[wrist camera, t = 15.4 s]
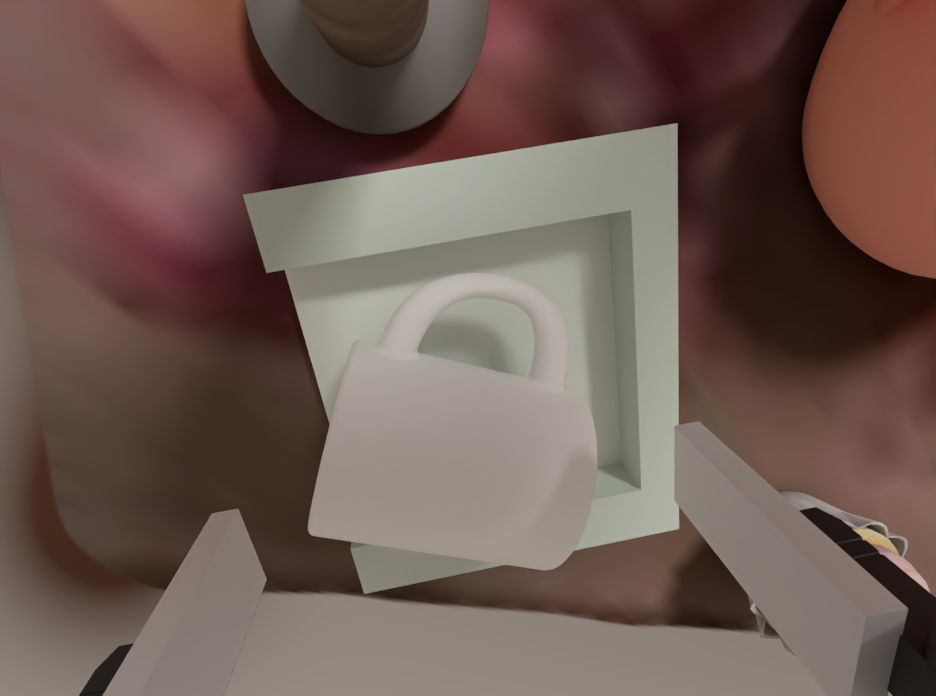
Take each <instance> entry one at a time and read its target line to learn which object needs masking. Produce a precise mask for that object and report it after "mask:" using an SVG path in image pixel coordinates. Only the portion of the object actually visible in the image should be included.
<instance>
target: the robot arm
mask: <svg viewBox="0 0 936 696" xmlns="http://www.w3.org/2000/svg"><path fill="white" fill-rule="evenodd" d="M674 500H675V502H676V503H677V504H678V505H679V507H680V508H681V509H682V511H683V512H684V513H685V514H686V516H687V517H688V518H689V520H690V521H691V522H692V523H693V525H694V526H695V527H696V529H697V530H698V531H699V532H700V534H701V535H702V536H703V538H704V539H705V540H706V541H707V543H708V544H709V545H710V547H711V548H712V549H713V550H714V552H715V553H716V554H717V556H718V557H719V558H720V559H721V561H722V562H723V563H724V565H725V566H726V567H727V568H728V570H729V571H730V572H731V574H732V575H733V576H734V577H735V579H736V580H737V581H738V583H739V584H740V585H741V586H742V588H743V589H744V590H745V592H746V593H747V594H748V595H749V597H750V598H751V599H752V601H753V602H754V603H755V604H756V606H757V607H758V608H759V610H760V611H761V612H762V613H763V615H764V616H765V617H766V619H767V620H768V621H769V622H770V624H771V625H772V626H773V628H774V629H775V630H776V631H777V633H778V634H779V635H780V637H781V638H782V639H783V640H784V642H785V643H786V644H787V646H788V647H789V648H790V649H791V651H792V652H793V653H794V655H795V656H796V657H797V658H798V660H799V661H800V662H801V664H802V665H803V666H804V667H805V669H806V670H807V671H808V673H809V674H810V675H811V676H812V677H813V679H814V680H815V682H816V683H817V684H818V685H819V687H820V688H821V689H822V691H823V692H824V693H825V694H826V696H888V692H890V693H891V694H892V695H893V696H936V597H934V596H933V595H932V594H931V593H929V592H928V591H927V590H926V589H925V588H923V587H922V586H921V585H920V584H919V583H917V582H916V581H915V580H914V579H913V578H911V577H910V576H909V575H908V574H906V573H905V572H904V571H903V570H902V569H900V568H899V567H898V566H897V565H896V564H894V563H893V562H892V561H891V560H889V559H888V558H887V557H886V556H885V555H883V554H880V553H879V550H877V549H876V548H875V547H874V546H873V545H871V544H870V543H869V542H868V541H866V540H863V539H862V536H860V535H859V534H858V533H857V532H856V531H854V530H853V529H852V528H851V527H850V526H848V525H847V524H846V523H845V522H843V521H842V520H841V519H839V518H837V517H835V516H833V515H831V514H829V513H827V512H825V511H823V510H821V509H819V508H817V507H814V508H809V509H804V510H798V509H796V508H795V507H794V506H793V505H792V504H791V503H790V502H789V501H787V500H786V499H785V498H784V497H783V496H782V495H781V494H780V493H779V492H777V491H776V490H775V489H774V488H773V487H772V486H771V485H770V484H768V483H767V482H766V481H765V480H764V479H763V478H762V477H761V476H760V475H758V474H757V473H756V472H755V471H754V470H753V469H752V468H751V467H749V466H748V465H747V464H746V463H745V462H744V461H743V460H742V459H741V458H739V457H738V456H737V455H736V454H735V453H734V452H733V451H732V450H730V449H729V448H728V447H727V446H726V445H725V444H724V443H723V442H721V441H720V440H719V439H718V438H717V437H716V436H715V435H714V434H713V433H711V432H710V431H709V430H708V429H707V428H706V427H705V426H704V425H702V424H701V423H700V422H699V421H698V422H693V423H688V424H683V425H677V426H674ZM266 580H267V579H266V576H265V574H264V571H263V569H262V566H261V564H260V561H259V559H258V556H257V554H256V551H255V549H254V546H253V544H252V541H251V539H250V536H249V534H248V532H247V529H246V527H245V524H244V522H243V519H242V517H241V514H240V512H239V509H233V510H228V511H222V512H217V513H212V514H211V516H210V517H209V519H208V521H207V522H206V524H205V526H204V527H203V529H202V531H201V532H200V534H199V536H198V537H197V539H196V541H195V542H194V544H193V546H192V547H191V549H190V551H189V552H188V554H187V556H186V557H185V559H184V561H183V562H182V564H181V566H180V567H179V569H178V571H177V572H176V574H175V576H174V577H173V579H172V581H171V582H170V584H169V586H168V587H167V589H166V591H165V592H164V594H163V596H162V597H161V599H160V601H159V603H158V604H157V606H156V607H155V609H154V611H153V612H152V614H151V616H150V617H149V619H148V621H147V623H146V624H145V626H144V627H143V629H142V631H141V632H140V634H139V636H138V637H137V639H136V641H135V642H134V644H129V645H123V646H119V647H118V648H117V649H116V650H115V651H114V652H113V653H112V654H111V655H110V656H109V657H108V658H107V659H106V660H105V661H104V662H103V663H102V664H101V665H100V666H99V667H98V668H97V669H96V670H95V672H94V673H93V675H92V676H91V678H90V679H89V681H88V683H87V684H86V686H85V687H84V689H83V690H82V692H81V693H80V695H79V696H224V694H225V691H226V689H227V686H228V683H229V681H230V678H231V675H232V672H233V670H234V667H235V664H236V662H237V659H238V656H239V653H240V651H241V648H242V645H243V643H244V640H245V637H246V634H247V632H248V629H249V626H250V623H251V621H252V618H253V616H254V613H255V610H256V607H257V604H258V602H259V599H260V597H261V594H262V591H263V588H264V586H265V583H266Z"/></svg>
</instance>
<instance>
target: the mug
mask: <svg viewBox="0 0 936 696" xmlns="http://www.w3.org/2000/svg"><path fill="white" fill-rule="evenodd" d="M471 298H489V299H496V300H501V301H505V302H509V303H511V304H514V305H516V306H518V307H519V308H521V309H522V310H523V311H524V312H525V313H526V314H527V315H528V317H529V318H530V320H531V323H532V326H533V330H534V339H535V345H534V356H533V362H532V367H531V372H530V375H529V376H528V377H522V376H518V375H513V374H509V373H505V372H500V371H496V370H492V369H487V368H483V367H478V366H474V365H470V364H465V363H461V362H457V361H452V360H448V359H444V358H439V357H435V356H431V355H426V354H422V353H418V351H417V349H418V346H419V344H420V342H421V340H422V338H423V336H424V334H425V332H426V330H427V329H428V327H429V326H430V324H431V323H432V322H433V321H434V319H435V318H436V317H437V316H438V315H439V314H440V313H441V312H442V311H443V310H445V309H446V308H447V307H449V306H450V305H452V304H454V303H456V302H459V301H462V300H465V299H471ZM568 357H569V341H568V333H567V328H566V324H565V321H564V318H563V316H562V314H561V312H560V310H559V308H558V307H557V305H556V304H555V303H554V301H553V300H552V299H551V298H550V297H549V296H548V295H547V294H546V293H544V292H543V291H542V290H540V289H539V288H537V287H536V286H534V285H532V284H530V283H528V282H525V281H523V280H520V279H517V278H514V277H510V276H505V275H500V274H491V273H465V274H457V275H452V276H448V277H444V278H441V279H438V280H435V281H433V282H431V283H428V284H426V285H425V286H423V287H421V288H419V289H418V290H416V291H415V292H414V293H412V294H411V295H410V296H409V297H408V298H407V299H406V300H405V301H404V302H403V303H402V304H401V305H400V306H399V307H398V309H397V310H396V311H395V313H394V314H393V316H392V317H391V319H390V321H389V322H388V324H387V327H386V329H385V331H384V333H383V335H382V338H381V340H380V342H379V343H374V342H370V341H365V340H356V341H355V342H354V343H353V345H352V347H351V350H350V353H349V356H348V359H347V363H346V366H345V369H344V373H343V376H342V380H341V384H340V387H339V391H338V395H337V398H336V402H335V406H334V410H333V414H332V418H331V422H330V426H329V430H328V434H327V438H326V442H325V446H324V450H323V454H322V459H321V463H320V467H319V472H318V476H317V481H316V485H315V490H314V494H313V499H312V504H311V509H310V515H309V521H308V532H309V533H310V534H311V535H312V536H316V537H323V538H330V539H336V540H343V541H350V542H357V543H363V544H370V545H377V546H384V547H390V548H397V549H404V550H410V551H417V552H424V553H431V554H437V555H444V556H451V557H457V558H464V559H471V560H478V561H484V562H491V563H498V564H504V565H511V566H518V567H525V568H531V569H538V570H551V569H554V568H556V567H558V566H560V565H561V564H562V563H563V562H564V561H565V560H566V559H567V558H568V557H569V556H570V555H571V553H572V552H573V550H574V549H575V547H576V545H577V544H578V542H579V540H580V538H581V535H582V533H583V531H584V528H585V526H586V523H587V520H588V517H589V513H590V509H591V505H592V501H593V496H594V490H595V483H596V473H597V442H596V433H595V427H594V423H593V419H592V415H591V412H590V410H589V407H588V405H587V403H586V401H585V400H584V398H583V397H582V396H581V395H580V394H579V393H578V392H577V391H576V390H574V389H572V388H569V387H565V386H564V382H565V377H566V372H567V365H568Z"/></svg>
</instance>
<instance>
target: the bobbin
mask: <svg viewBox="0 0 936 696" xmlns="http://www.w3.org/2000/svg"><path fill="white" fill-rule="evenodd" d="M488 2H489V1H488V0H245V4H246V8H247V13H248V18H249V21H250V24H251V27H252V30H253V33H254V36H255V39H256V41H257V43H258V45H259V47H260V50H261V52H262V54H263V56H264V57H265V59H266V61H267V62H268V64H269V66H270V68H271V69H272V71H273V72H274V73H275V75H276V76H277V77H278V79H279V80H280V81H281V83H282V84H283V85H284V86H285V87H286V88H287V89H288V90H289V91H290V92H291V93H292V94H293V96H294V97H296V98H297V99H298V100H299V101H300V102H302V103H303V104H304V105H305V106H306V107H308V108H309V109H311V110H312V111H314V112H315V113H317V114H318V115H320V116H321V117H323V118H324V119H326V120H327V121H329V122H331V123H333V124H335V125H337V126H340V127H342V128H345V129H348V130H351V131H354V132H359V133H364V134H371V135H389V134H397V133H401V132H406V131H409V130H412V129H415V128H417V127H420V126H422V125H424V124H425V123H427V122H429V121H431V120H432V119H434V118H435V117H436V116H438V115H439V114H440V113H442V112H443V111H444V110H445V109H446V108H447V107H448V106H449V105H450V104H451V103H452V102H453V101H454V100H455V98H456V97H457V96H458V94H459V93H460V92H461V90H462V89H463V87H464V86H465V84H466V82H467V80H468V78H469V77H470V75H471V73H472V71H473V69H474V67H475V65H476V62H477V60H478V58H479V55H480V53H481V49H482V45H483V42H484V38H485V33H486V27H487V21H488Z"/></svg>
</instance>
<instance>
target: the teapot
mask: <svg viewBox="0 0 936 696" xmlns="http://www.w3.org/2000/svg"><path fill="white" fill-rule="evenodd" d="M802 149H803V156H804V163H805V168H806V171H807V174H808V177H809V180H810V183H811V186H812V189H813V191H814V192H815V194H816V196H817V198H818V200H819V202H820V204H821V205H822V207H823V209H824V211H825V212H826V214H827V215H828V217H829V218H830V219H831V221H832V222H833V223H834V225H835V226H836V227H837V229H838V230H839V231H840V232H841V233H842V234H843V235H844V236H845V237H846V238H847V239H848V240H849V241H850V242H851V243H853V244H854V245H855V246H857V247H858V248H859V249H861V250H862V251H864V252H865V253H866V254H868V255H869V256H871V257H873V258H874V259H876V260H878V261H880V262H882V263H884V264H886V265H888V266H890V267H891V268H894V269H897V270H900V271H903V272H906V273H909V274H912V275H917V276H923V277H929V278H935V279H936V0H847V1H846V3H845V5H844V6H843V8H842V10H841V12H840V14H839V16H838V18H837V20H836V22H835V24H834V26H833V29H832V31H831V33H830V35H829V37H828V40H827V42H826V44H825V46H824V49H823V51H822V54H821V56H820V59H819V62H818V65H817V67H816V70H815V73H814V75H813V78H812V81H811V84H810V88H809V92H808V96H807V99H806V103H805V107H804V114H803V122H802Z"/></svg>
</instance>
